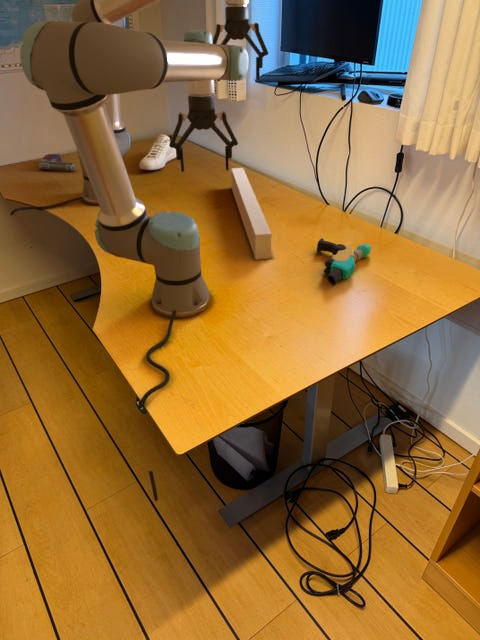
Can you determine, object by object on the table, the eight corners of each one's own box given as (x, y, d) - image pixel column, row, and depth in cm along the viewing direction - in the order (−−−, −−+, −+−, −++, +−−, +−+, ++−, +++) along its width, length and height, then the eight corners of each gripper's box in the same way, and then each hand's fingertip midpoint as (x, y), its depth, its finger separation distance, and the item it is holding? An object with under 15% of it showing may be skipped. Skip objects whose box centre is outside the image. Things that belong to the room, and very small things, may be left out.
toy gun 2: (295, 266, 131) (348, 279, 125) (326, 230, 149) (373, 240, 144) (294, 280, 133) (346, 293, 128) (325, 243, 152) (371, 253, 146)
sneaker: (133, 173, 208) (129, 144, 201) (161, 153, 230) (158, 127, 223) (155, 175, 205) (151, 146, 198) (180, 155, 227) (178, 129, 220)
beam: (270, 258, 144) (271, 233, 140) (255, 259, 144) (255, 234, 139) (243, 187, 193) (243, 167, 188) (231, 188, 192) (231, 168, 187)
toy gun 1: (87, 162, 220) (72, 173, 209) (51, 160, 224) (33, 171, 212) (86, 154, 218) (70, 164, 206) (49, 152, 221) (31, 162, 209)
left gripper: (273, 4, 155) (271, 76, 167) (196, 6, 152) (201, 79, 165) (278, 5, 149) (276, 80, 161) (198, 7, 146) (202, 83, 159)
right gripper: (244, 90, 137) (244, 164, 149) (157, 92, 136) (164, 167, 148) (246, 95, 131) (246, 172, 143) (155, 98, 130) (163, 175, 142)
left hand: (238, 79), depth 163 cm, fingers open, 13 cm apart
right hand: (205, 169), depth 146 cm, fingers open, 13 cm apart
